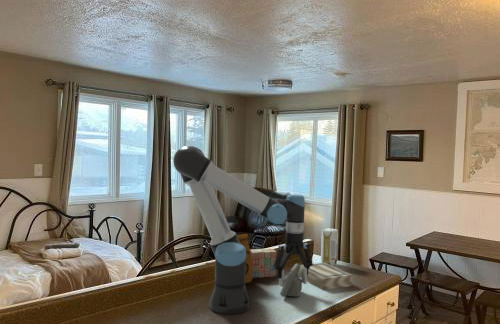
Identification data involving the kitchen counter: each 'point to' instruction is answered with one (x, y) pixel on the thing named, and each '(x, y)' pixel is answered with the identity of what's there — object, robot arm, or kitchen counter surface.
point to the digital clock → (292, 283)
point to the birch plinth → (327, 276)
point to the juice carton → (329, 246)
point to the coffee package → (249, 259)
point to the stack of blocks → (263, 263)
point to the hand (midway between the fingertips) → (292, 284)
